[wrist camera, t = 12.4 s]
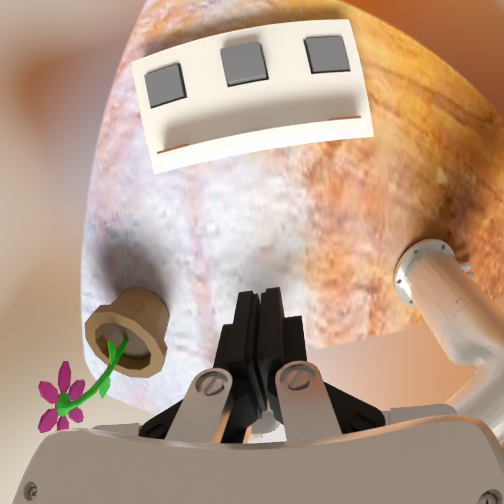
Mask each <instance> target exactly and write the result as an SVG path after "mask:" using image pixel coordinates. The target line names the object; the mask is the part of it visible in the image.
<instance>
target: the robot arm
mask: <svg viewBox="0 0 504 504" xmlns="http://www.w3.org/2000/svg"><path fill="white" fill-rule="evenodd" d="M470 268H471V264H470V262H464V263H461V264H460V263H459V262H458V261H457V260H456V259H455V254H454V252H453V250H452V249H451V247H450V246H449V245H448V244H447V243H445V242H444V241H442V240H440V239H435V238H430V239H424V240H422V241H419V242H418V243H416V244H414V245H413V246H412V247H410V248H409V249H408V250H407V251H406V252H405V253H404V255H403V256H402V257H401V259H400V260H399V262H398V264H397V267H396V269H395V273H394V280H393V282H394V288H395V292H396V293H397V295H398V297H399V298H400V299H401V301H403V302H404V303H405V304H407V305H410V306H416V307H417V309H418V311H419V312H420V314H421V315H422V317H423V318H424V320H425V321H426V323H427V324H428V326H429V327H430V329H431V330H432V332H433V334H434V336H435V337H436V339H437V341H438V342H439V344H440V346H441V347H442V349H443V351H444V353H445V354H446V356H447V357H448V359H450V361H451V362H452V363H454V364H455V365H457V366H460V367H464V368H470V369H476V371H475V373H474V374H473V375H472V377H470V379H469V380H468V381H467V382H466V383H465V384H464V385H463V386H462V387H461V388H460V389H459V390H458V391H457V392H456V393H455V394H454V395H453V396H451V397H450V398H449V399H448V400H447V401H446V402H445V403H444V404H434V405H426V406H415V407H403V408H390V411H380V410H379V409H377V408H376V407H374V406H372V405H369V404H367V403H365V402H363V401H361V400H359V399H357V398H355V397H353V396H351V395H349V394H347V393H345V392H343V391H341V390H339V389H337V388H335V387H333V386H331V385H329V384H327V383H325V382H324V381H323V379H322V377H321V374H320V371H319V370H318V368H317V367H316V366H315V365H314V364H312V363H309V362H307V356H306V348H305V339H304V331H303V323H302V316H294V317H287V318H285V316H284V310H283V304H282V298H281V292H280V288H279V287H276V288H268V289H266V292H265V293H261V305H260V300H259V296H258V293H257V294H253V291H246V292H239V294H238V299H237V304H236V310H235V315H234V320H233V324H225V325H223V327H222V331H221V335H220V340H219V344H218V348H217V353H216V357H215V361H214V366H213V368H211V369H207V370H204V371H202V372H201V373H199V374H198V375H197V376H196V377H195V378H194V379H193V381H192V383H191V385H190V387H189V389H188V391H187V393H186V395H185V397H184V399H182V400H181V401H179V402H178V403H176V404H175V405H173V406H171V407H170V408H168V409H167V410H165V411H163V412H162V413H160V414H158V415H157V416H155V417H153V418H152V419H150V420H148V421H147V422H146V423H145V424H144V425H140V424H139V423H134V424H119V425H99V426H95V427H94V428H92V429H85V428H76V429H75V428H72V429H64V430H59V431H56V432H53V433H51V434H49V435H48V436H47V437H46V438H45V439H44V440H43V441H42V443H41V444H40V445H39V447H38V449H37V450H36V452H35V453H34V455H33V457H32V459H31V461H30V463H29V465H28V467H27V469H26V471H25V473H24V475H23V478H22V480H21V482H20V485H19V487H18V490H17V493H16V495H15V498H14V500H13V503H12V504H504V442H503V443H501V444H500V443H499V442H500V441H501V440H502V439H503V438H504V312H503V311H502V310H501V309H500V308H499V307H498V306H497V305H496V304H495V303H494V302H493V300H492V299H491V298H490V297H489V296H488V295H487V294H486V293H485V292H484V291H483V290H482V289H481V288H480V287H479V286H478V285H477V284H476V283H475V282H474V274H473V272H467V273H465V272H464V271H465V270H469V269H470ZM463 270H464V271H463ZM268 402H269V405H270V409H271V411H273V415H274V418H275V419H276V420H277V421H278V422H280V423H281V424H283V425H284V428H285V433H286V438H287V441H286V442H272V443H248V441H249V437H250V433H251V425H252V424H253V423H254V422H255V421H257V419H262V411H267V407H268Z"/></svg>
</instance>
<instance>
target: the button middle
mask: <svg viewBox="0 0 504 504" xmlns="http://www.w3.org/2000/svg"><path fill="white" fill-rule="evenodd" d="M220 51H221V56H222V60H223V65H224V70H225V74H226V79H227V82H228V83H229V85H230V86H233V85H237V84H242V83H247V82H253V81H258V80H264V79H267V78H266V72H265V67H264V63H263V58H262V54H261V50H260V45H259V41H256V42H250V43H245V44H240V45H235V46H230V47H226V48H221V49H220Z"/></svg>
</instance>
